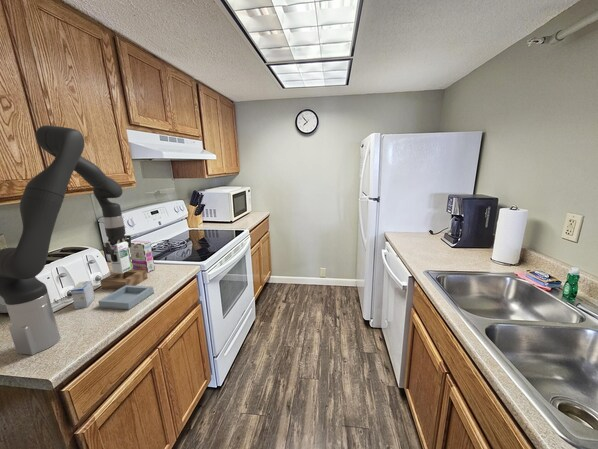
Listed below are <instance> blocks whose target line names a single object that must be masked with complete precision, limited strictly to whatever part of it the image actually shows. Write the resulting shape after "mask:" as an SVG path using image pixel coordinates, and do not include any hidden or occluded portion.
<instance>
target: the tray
mask: <svg viewBox="0 0 598 449" xmlns="http://www.w3.org/2000/svg"><path fill="white" fill-rule="evenodd" d="M154 293H155V291H154V287H153V286H143V285H136V286H131V285H125V286H124V287H122V288H120V289H118V290H114V291H113V292H111V293H109V294H107V295H106V296H104V297H103V298H101V299H99V300H98V301H97V302H98V306H99V308H100V309H101V308H102V309H112V310H113V309H114V310H127V311H130V310H132V309H133V308H135V307H136V306H137V305H139V304H141V303H142V302H144V300H146V299H147V298H149V297H150V296H152V295H153V294H154Z"/></svg>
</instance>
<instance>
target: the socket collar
mask: <svg viewBox="0 0 598 449" xmlns="http://www.w3.org/2000/svg"><path fill="white" fill-rule="evenodd" d="M147 279H149V277H148V273H147V271H146V270H134V269H133V268H132V269H131V270H129V271H127V272H124V273H112V274H110V275H108V276H107V277H106V276H105V277H104V278H102V279H100V280H99V282H100V285H101V290H113V291H117V290H118V289H120V288H122V287H124V286H125V285H131V286H138V285H139V284H140V283H142V282H144V281H146V280H147Z"/></svg>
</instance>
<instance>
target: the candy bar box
mask: <svg viewBox="0 0 598 449" xmlns="http://www.w3.org/2000/svg"><path fill="white" fill-rule="evenodd" d="M151 243H152V242H151V241H145V240H144V241H143V240H134V241H131V247H129V253H130V258H131V264H132V269H134V270H146V271H147V274H148V273H150V272H153V271H155V270H156V267H155V263H154V262H155V261H154V256H153V249H152V244H151Z"/></svg>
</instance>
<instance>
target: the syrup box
mask: <svg viewBox="0 0 598 449" xmlns="http://www.w3.org/2000/svg"><path fill="white" fill-rule="evenodd" d="M110 246H111V248H115V247H116V255H117V260H118V261H117V262H113V261H112V260H111V255H109V259H110V263H111V268H112V274H114V273H124V272H127V271H129V270H131V269H133V266H132V260H131V254H130V249H129V248H128V243H127V242H126V241H125V242H121V243H119V244H115V245H113V246H112V245H110ZM112 251H113V249H112Z"/></svg>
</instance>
